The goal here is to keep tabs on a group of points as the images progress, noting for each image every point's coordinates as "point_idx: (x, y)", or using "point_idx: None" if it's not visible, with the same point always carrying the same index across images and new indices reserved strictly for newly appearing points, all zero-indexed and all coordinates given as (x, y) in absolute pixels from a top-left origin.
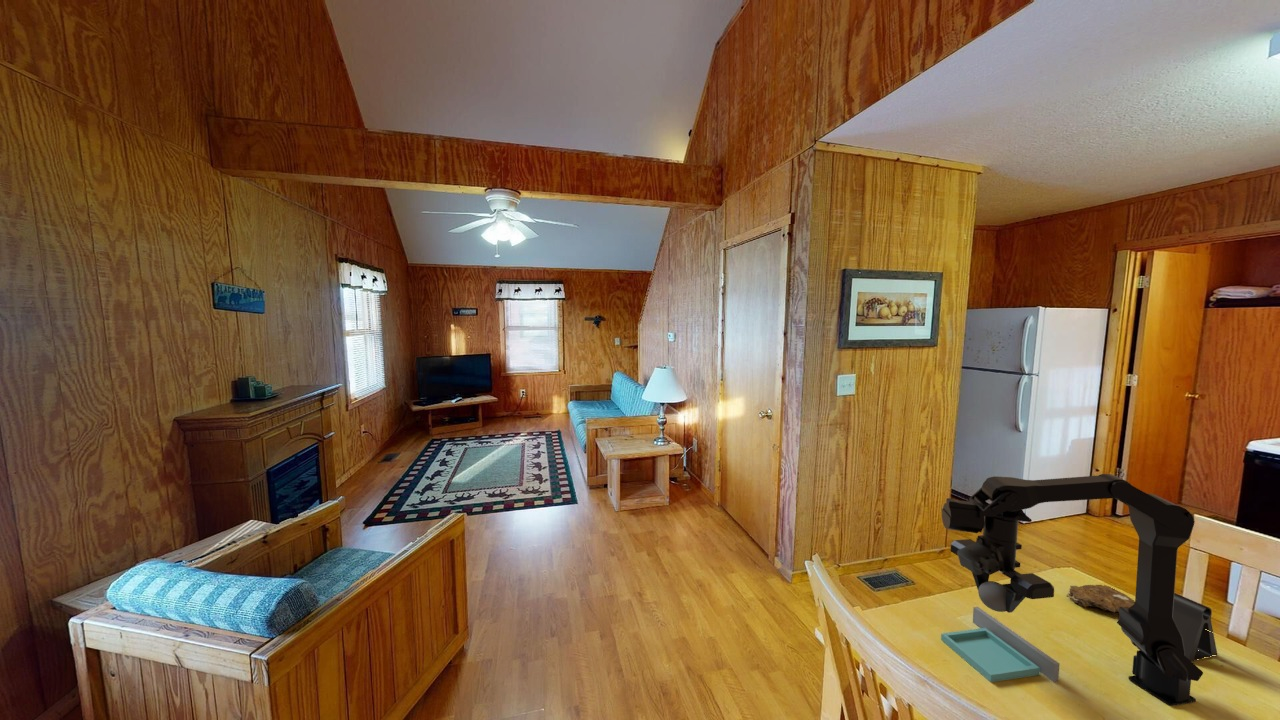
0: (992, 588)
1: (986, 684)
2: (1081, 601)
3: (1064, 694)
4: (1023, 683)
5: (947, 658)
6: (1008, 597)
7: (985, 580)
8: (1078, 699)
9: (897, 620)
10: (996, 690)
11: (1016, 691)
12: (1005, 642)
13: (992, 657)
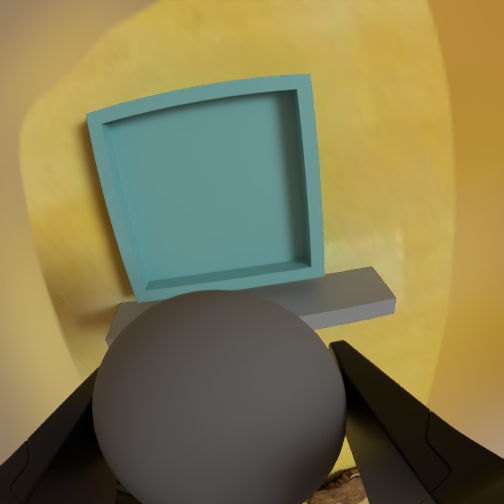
0: (157, 471)
1: (89, 93)
2: (347, 478)
3: (84, 294)
4: (102, 217)
5: (205, 31)
6: (31, 461)
7: (362, 462)
8: (76, 311)
9: (406, 4)
10: (69, 110)
11: (70, 171)
12: (260, 292)
13: (198, 198)
